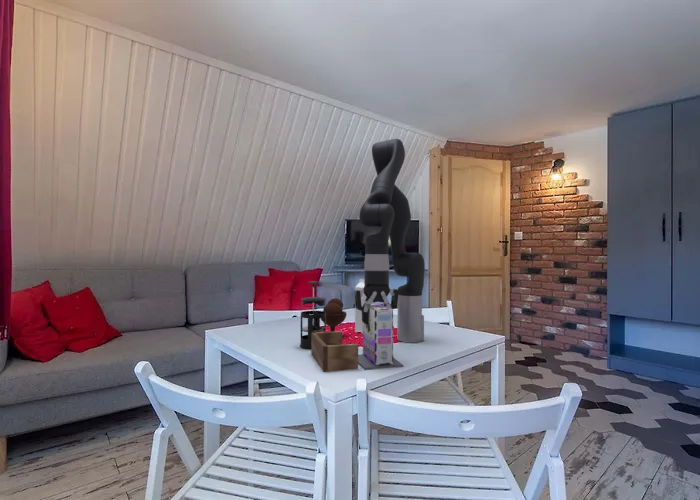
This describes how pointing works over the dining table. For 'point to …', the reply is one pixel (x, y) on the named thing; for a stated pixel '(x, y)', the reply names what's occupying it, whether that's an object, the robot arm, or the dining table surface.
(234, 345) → the dining table surface
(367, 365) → the mat
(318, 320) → the french press
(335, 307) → the ice cream bowl
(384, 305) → the robot arm
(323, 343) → the holder
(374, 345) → the candy box
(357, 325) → the milk
